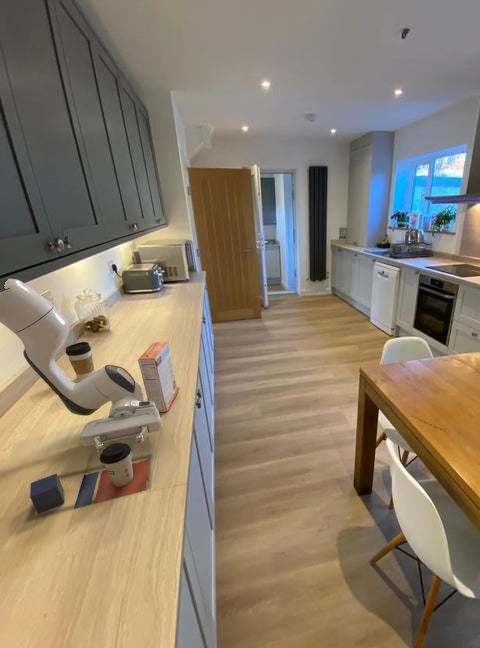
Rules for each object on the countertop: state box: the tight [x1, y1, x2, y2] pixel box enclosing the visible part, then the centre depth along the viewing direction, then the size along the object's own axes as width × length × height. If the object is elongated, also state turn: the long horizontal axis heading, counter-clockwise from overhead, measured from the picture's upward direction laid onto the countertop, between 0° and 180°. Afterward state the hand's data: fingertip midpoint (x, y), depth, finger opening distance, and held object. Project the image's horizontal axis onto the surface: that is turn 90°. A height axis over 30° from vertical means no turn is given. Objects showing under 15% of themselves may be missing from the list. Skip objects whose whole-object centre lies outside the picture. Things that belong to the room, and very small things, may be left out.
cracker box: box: [137, 341, 179, 413], centre depth 113 cm, size 14×6×21 cm, turn 3°
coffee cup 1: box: [65, 341, 96, 382], centre depth 130 cm, size 8×8×15 cm
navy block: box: [29, 473, 65, 515], centre depth 75 cm, size 5×5×6 cm
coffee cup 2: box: [99, 442, 133, 486], centre depth 81 cm, size 7×7×10 cm
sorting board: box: [73, 458, 151, 510], centre depth 81 cm, size 24×12×1 cm, turn 111°
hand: (120, 444), depth 85 cm, fingers open, 8 cm apart
